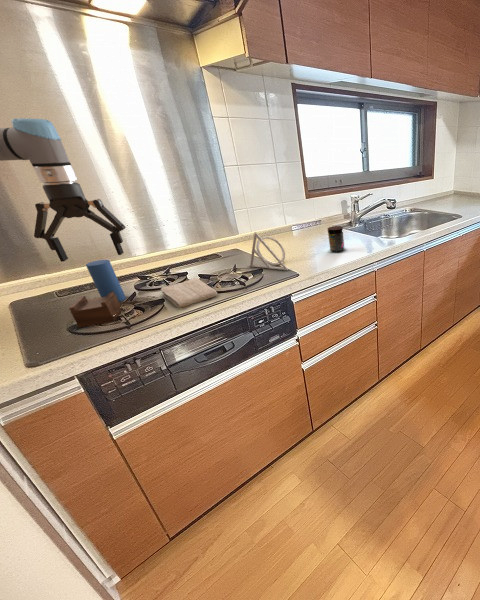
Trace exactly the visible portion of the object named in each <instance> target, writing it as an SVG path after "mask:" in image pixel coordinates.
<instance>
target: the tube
mask: <svg viewBox="0 0 480 600" xmlns="http://www.w3.org/2000/svg"><path fill="white" fill-rule="evenodd" d="M85 266H86V269H87V271H88V273H89V275H90V277H91V279H92V281H93V283H94V285H95V288H96V289H97V291H98V294H99V296H100V297H106V296H107V295H108V294H109V292H113V291H114V293H115V295H116V296H117V298H118V301H119V303H121V302H124V301H125V300H126V298H127V297H126V295H125V293H124V290H123V288H122V286H121V283H120V281H119V279H118V277H117V275H116V272H115V270H114V268H113V266H112V263H111V261H110V259H98V260H93V261H91V262H90V261H89V262H87V263H86V264H85Z"/></svg>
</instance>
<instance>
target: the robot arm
mask: <svg viewBox="0 0 480 600" xmlns="http://www.w3.org/2000/svg"><path fill="white" fill-rule="evenodd" d="M11 124H12V127H0V162H1V161H2V162H3V161H29V163H30V164H31V166H32V168H33V170H34V172H35V174H36V176H37V178H38V181H39V182H40V183H42V189H43V191H44V193H45V196H46V198H47V199H48V201H49V202H43V201H41V202H37V203H35V204H34V206H35V210H36V219H35V224H34V225H35V226H34V233H33V237H34V238H35V239H42V240H45V241H46V243H47V245H48V247H49V249H50V250H51V251H55V252H56V255H57V256H58V259H59V261H60V262H66V261H68V259H69V257H68V255H67V252H66V251H65V249H64V246H63V245H62V243H61V240H60V239H59V237H55V235H56V233H57V231H58V230H59V228H60V226H61V225H62V222H63V221H64V219H72V218H82V217H83V218H86V219H89V220H91V221H93V222H94V223H96V224H98V225H100V226H101V227H103V228H104V229H105V230H108V231H109V232H111V233H109V237H110V239H111V242H112V243H113V246H114V248H115V250H116V254H117V256H121V255H123V254H124V250H123V247H122V245H121V244H122V243H123V242H124V239H123V237H122V235H121V232H122V231H124V230H125V229H126V228H127V227H126V225H125V224H124V223H123V222H122V221H121V220H119V219H118V218H117V217H116V216H115V215H114V214H113V213H112V212H111V211H110V210H109V209H107V208H106V206H105V205H104V203H103V202H102V200H101V199H100V198H95V199H93V200H92V199H91V200H88V199H87V198H86V196H85V193H84V191H83V188H82V187H81V184H80V183H79V182H76V181H78V177H77V174H76V173H75V170H74V168H73V165H72V163H71V162H70V160H69V157H68V154H67V152H66V149H65V146H64V144H63V142H62V138H61V137H60V135H59V133H58V130H57V129H56V127H55V125H54V123H53V122H52V121H50V120H48V119H46V118H31V117H29V118H28V117H27V118H25V117H24V118H22V117H21V118H20V117H19V118H12V119H11ZM90 206H92V207H93V208H94V209H96V210H97V211H98V212H99V213H100V214H101V215H102V216H103V217H104V218H105V219H104V218H102V217H101V216H99V215H98V214H96V213H95V211H92V210H91V209H89V208H90ZM50 209H51V210H53V211H54V212H56V213H55V215H54V216H53V219H52V221H51V223H50V225H49V226H48V228H47V230H46V227H47V220H48V215H49V214H48V212H49V211H50ZM106 219H107V220H108V221H107V220H106Z"/></svg>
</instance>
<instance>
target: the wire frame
mask: <svg viewBox="0 0 480 600" xmlns="http://www.w3.org/2000/svg"><path fill="white" fill-rule="evenodd" d="M257 239H258V240H257ZM266 239H267V240H271V241H273V242H275V243H276V244H277V245H278V246H279V248H280V249H281V253H282V257H281V259H280V258H279V257H278V256H277V254H276V253H275V252H274V251H273V250H272V249H271V248H270V247H269V245H268V244H267V243H266V242H265V241H264V240H266ZM260 243H261V244H262V245H263V246H264V247H265V249H266V250H267V251H268V252H269V253H270V254H271V255H272V256H273V257H274V259H275V261H277V262H272V261H270V260H268V259H266V258H265V257H264V256H263V254H262V253H261V250H260ZM255 255H256V256H257V257H258V258H259V259H260V261H261V262H262V263H263V264H264V265H262V264H254V258H255ZM285 259H286V252H285V248H284V246H283V245H282V243H281V242H280V241H279V240H278V239H276V238H274V237H273V236H268V235H265V236H262V237H261V236H260V235H259V234H258V233H257V232H254V234H253V240H252V247H251V255H250V262H249V267H251V268H258V269H269V270H276V271H277V270H278V271H289V268H288V267H287V266H286V265H285V264H284V263H283V262H284V261H285ZM279 265H280V266H281V267H280V266H279Z"/></svg>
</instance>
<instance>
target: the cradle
mask: <svg viewBox="0 0 480 600" xmlns="http://www.w3.org/2000/svg"><path fill="white" fill-rule="evenodd" d="M120 307H121V308H120ZM119 308H120V309H119ZM68 309H69V311H70V314H71V315H72V317H73V319H74V322H75V323H76V325H77V326H78V328H79V329H80V328H84V327H90V326H95V325H102V324H107V323H113V322H115V321H116V320H117V319H118V317H119V315H120V314H121V313H122V311H123V307H122V305H121V302H119V301H118V298H117V296H116V295H115V293H114V291H113V292H109V294H108V295H107V296H106V297H101V296H100V297H94V298H88V299H87V297H86V295H81V296H79V298H77V299H76V300H75V301H74V302H73V303H72V304H71V305H70V306H69V307H68ZM118 310H119V311H118ZM117 311H118V312H117ZM115 314H116V315H115ZM113 315H115V316H114V318H113Z"/></svg>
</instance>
